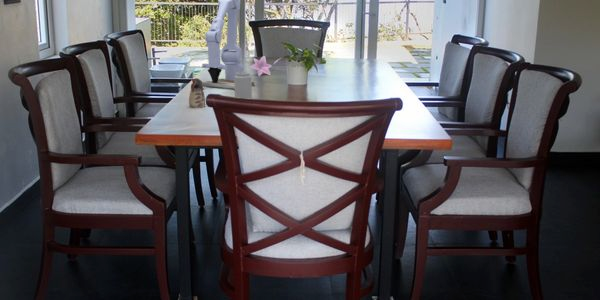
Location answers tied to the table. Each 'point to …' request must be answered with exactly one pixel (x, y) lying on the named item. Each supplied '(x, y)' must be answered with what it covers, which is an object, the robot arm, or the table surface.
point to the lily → (261, 66)
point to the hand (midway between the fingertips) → (215, 83)
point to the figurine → (197, 94)
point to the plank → (219, 84)
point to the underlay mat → (220, 87)
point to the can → (243, 85)
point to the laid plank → (229, 81)
